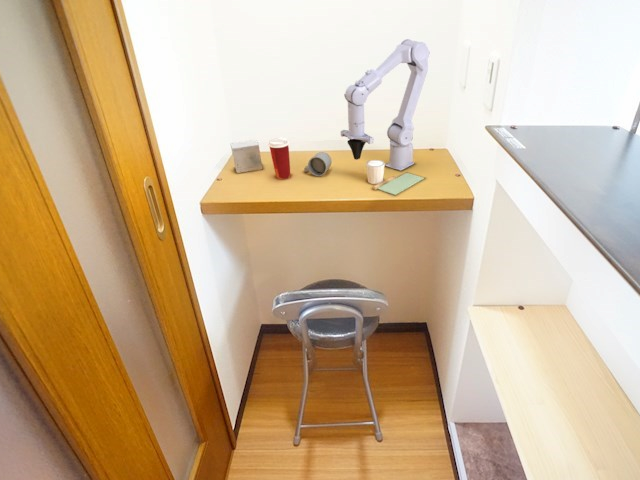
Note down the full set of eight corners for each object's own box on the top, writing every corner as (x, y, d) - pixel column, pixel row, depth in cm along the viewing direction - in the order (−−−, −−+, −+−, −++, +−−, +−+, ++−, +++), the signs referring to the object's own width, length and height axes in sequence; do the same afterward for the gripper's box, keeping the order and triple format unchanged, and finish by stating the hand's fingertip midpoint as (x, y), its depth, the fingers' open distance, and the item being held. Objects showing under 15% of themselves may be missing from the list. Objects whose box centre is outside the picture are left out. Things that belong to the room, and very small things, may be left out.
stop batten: (393, 178, 150) (393, 175, 149) (395, 179, 149) (395, 176, 149) (372, 189, 143) (372, 186, 143) (375, 190, 142) (375, 187, 142)
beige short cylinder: (383, 185, 145) (383, 167, 141) (364, 184, 147) (364, 166, 143) (385, 177, 151) (385, 159, 147) (367, 176, 152) (367, 159, 148)
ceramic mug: (333, 168, 159) (331, 150, 155) (327, 177, 153) (325, 157, 148) (308, 167, 162) (306, 148, 157) (301, 175, 155) (298, 156, 151)
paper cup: (296, 173, 156) (292, 138, 148) (286, 181, 151) (281, 145, 143) (280, 171, 159) (275, 136, 151) (269, 178, 154) (263, 142, 145)
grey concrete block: (237, 173, 158) (231, 148, 152) (235, 168, 163) (229, 142, 157) (263, 169, 161) (258, 144, 155) (260, 163, 166) (256, 139, 160)
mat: (406, 173, 153) (406, 172, 153) (424, 178, 149) (424, 177, 149) (377, 189, 143) (377, 188, 143) (394, 195, 139) (394, 194, 138)
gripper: (334, 121, 144) (336, 157, 152) (364, 128, 135) (364, 166, 143) (347, 116, 148) (348, 152, 156) (377, 123, 140) (377, 160, 148)
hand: (357, 158), depth 150 cm, fingers closed
